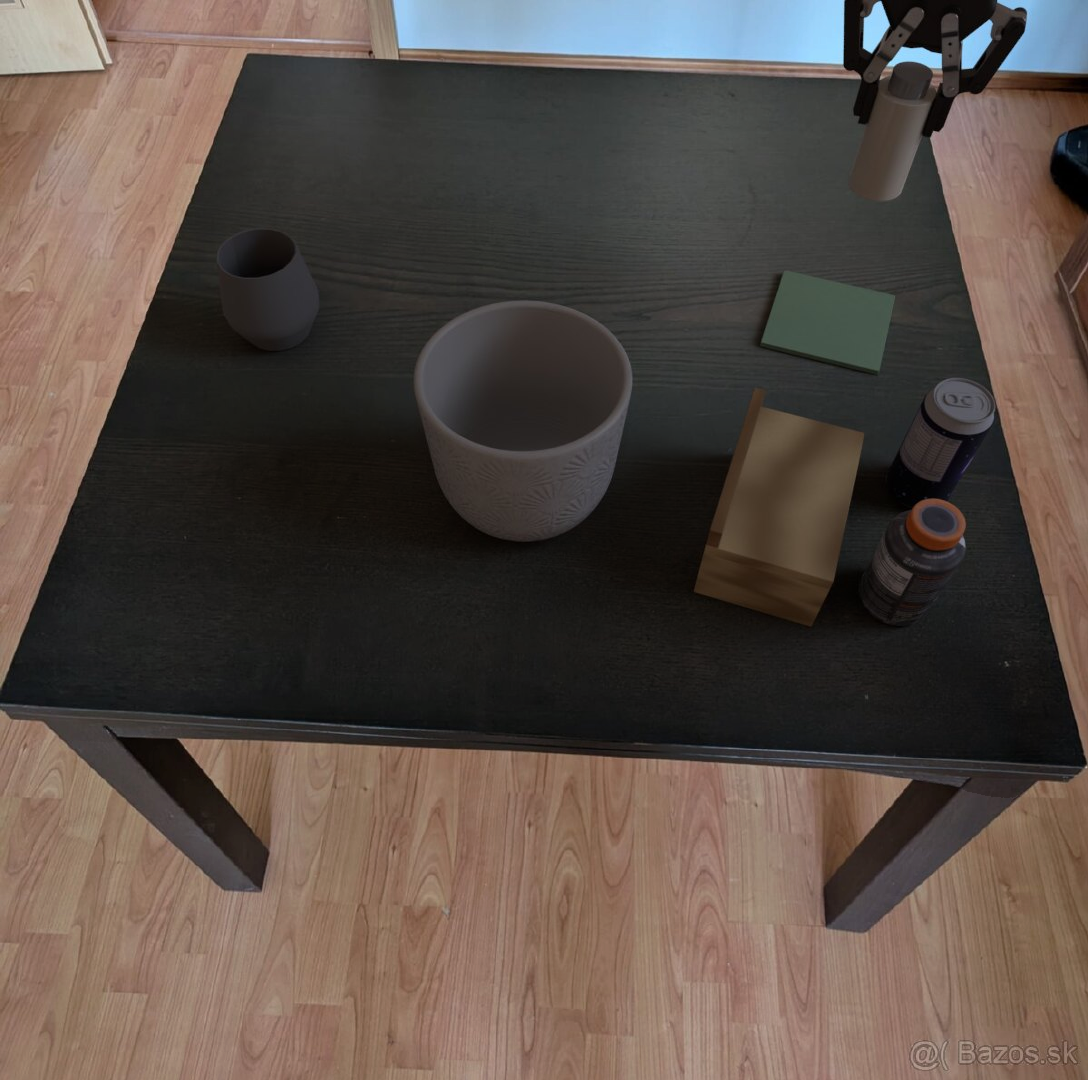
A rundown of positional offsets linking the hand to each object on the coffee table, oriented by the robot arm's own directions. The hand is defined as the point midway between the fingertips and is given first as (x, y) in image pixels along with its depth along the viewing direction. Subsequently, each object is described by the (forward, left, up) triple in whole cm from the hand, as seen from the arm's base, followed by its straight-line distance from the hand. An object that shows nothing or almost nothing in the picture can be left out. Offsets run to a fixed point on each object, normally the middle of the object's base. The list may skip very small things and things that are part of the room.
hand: (895, 124), depth 80 cm
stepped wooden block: (0, +29, -22) cm, 36 cm away
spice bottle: (0, 0, -6) cm, 6 cm away
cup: (+53, +21, -22) cm, 61 cm away
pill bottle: (-11, +32, -22) cm, 40 cm away
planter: (+22, +32, -22) cm, 45 cm away
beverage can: (-11, +20, -22) cm, 32 cm away
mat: (0, 0, -22) cm, 22 cm away
